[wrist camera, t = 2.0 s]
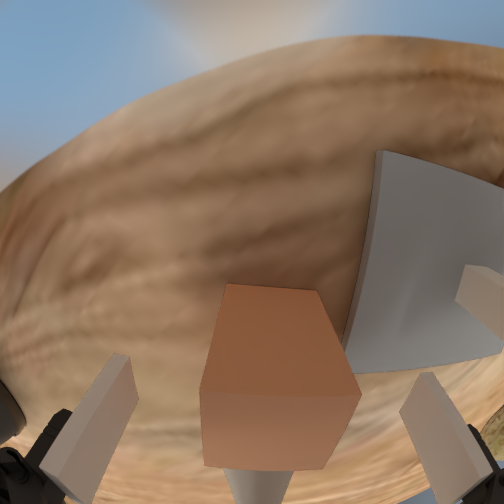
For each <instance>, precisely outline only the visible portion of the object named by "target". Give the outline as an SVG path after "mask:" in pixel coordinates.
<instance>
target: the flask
mask: <svg viewBox="0 0 504 504" xmlns="http://www.w3.org/2000/svg"><path fill="white" fill-rule="evenodd" d="M223 470H224V473H225V475H226V478H227V480H228V483H229V486H230V488H231V491H232V494H233V497H234V499H235V502H236V504H281V503H282V500H283V497H284V495H285V492H286V490H287V487H288V484H289V482H290V479H291V477H292V474H293V472H294V471H255V470H238V469H227V468H223Z"/></svg>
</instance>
